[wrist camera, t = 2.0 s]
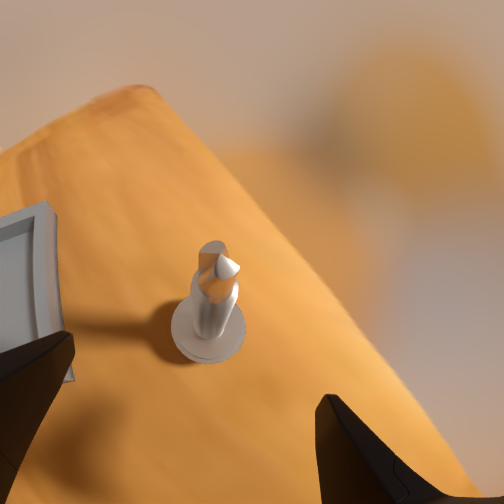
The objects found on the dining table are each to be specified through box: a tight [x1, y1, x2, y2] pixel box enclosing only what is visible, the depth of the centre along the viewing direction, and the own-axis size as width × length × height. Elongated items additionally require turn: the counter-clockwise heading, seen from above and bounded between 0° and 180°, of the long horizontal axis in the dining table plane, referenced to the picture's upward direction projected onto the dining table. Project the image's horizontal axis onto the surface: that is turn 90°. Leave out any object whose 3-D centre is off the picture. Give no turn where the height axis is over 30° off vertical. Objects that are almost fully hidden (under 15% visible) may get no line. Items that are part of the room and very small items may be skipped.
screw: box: [171, 241, 246, 364], centre depth 14 cm, size 13×5×5 cm
